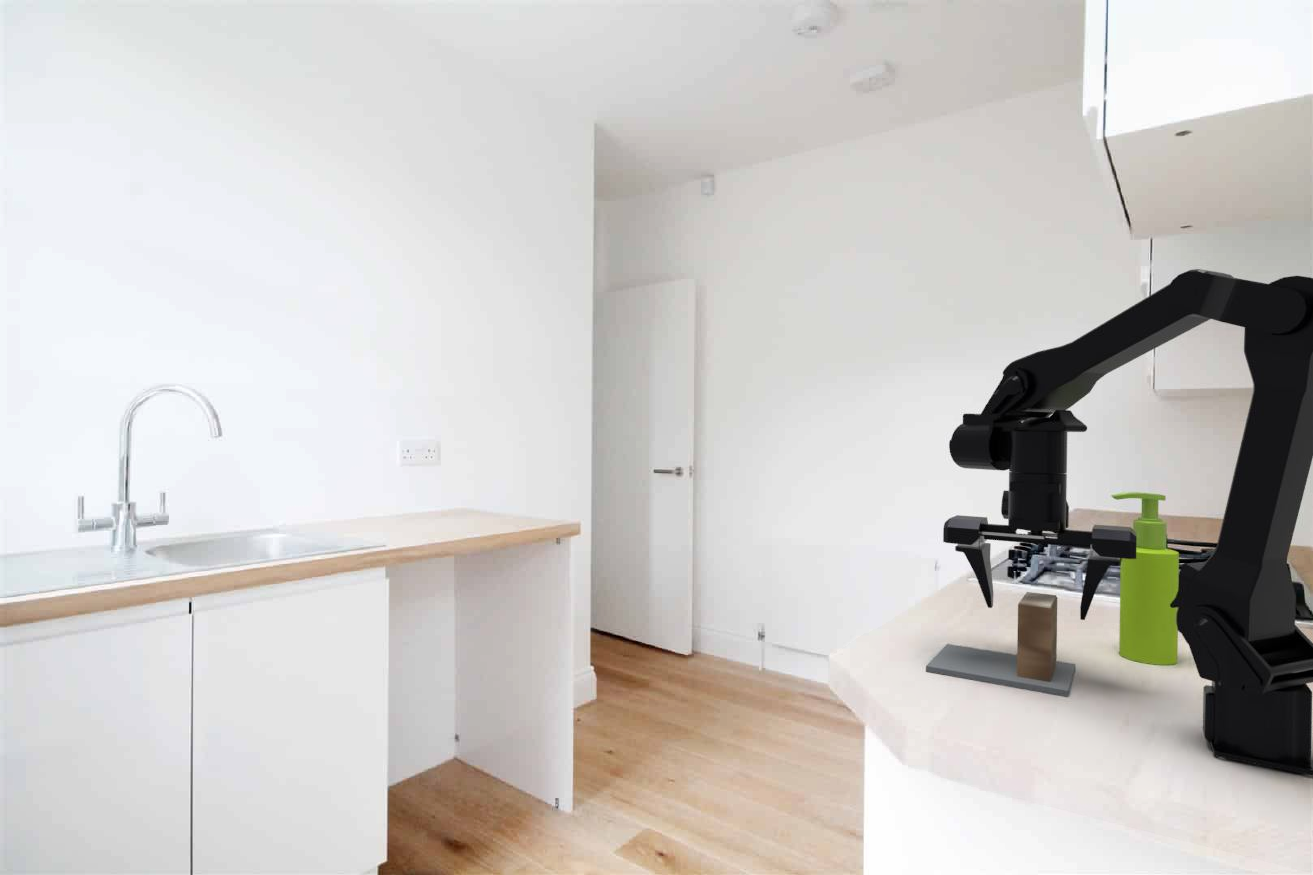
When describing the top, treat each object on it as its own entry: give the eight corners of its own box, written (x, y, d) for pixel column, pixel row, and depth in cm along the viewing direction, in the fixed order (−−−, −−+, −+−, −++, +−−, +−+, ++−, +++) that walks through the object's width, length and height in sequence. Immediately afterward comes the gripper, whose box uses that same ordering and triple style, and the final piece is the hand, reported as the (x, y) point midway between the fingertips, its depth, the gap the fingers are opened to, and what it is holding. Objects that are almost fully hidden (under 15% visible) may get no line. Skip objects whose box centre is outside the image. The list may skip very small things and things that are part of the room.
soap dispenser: (1105, 647, 94) (1107, 490, 94) (1169, 653, 91) (1171, 492, 91) (1115, 660, 88) (1117, 493, 88) (1183, 667, 86) (1186, 495, 86)
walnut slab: (1056, 665, 84) (1057, 595, 84) (1050, 682, 78) (1051, 606, 78) (1025, 660, 86) (1026, 591, 86) (1016, 676, 80) (1018, 602, 80)
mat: (1075, 669, 85) (1075, 663, 85) (1067, 696, 75) (1067, 690, 75) (947, 648, 92) (947, 643, 92) (925, 671, 83) (926, 665, 83)
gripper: (1137, 473, 84) (1135, 611, 84) (962, 467, 94) (960, 590, 94) (1137, 477, 74) (1134, 632, 74) (943, 470, 85) (941, 606, 85)
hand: (1035, 612), depth 82 cm, fingers open, 9 cm apart
